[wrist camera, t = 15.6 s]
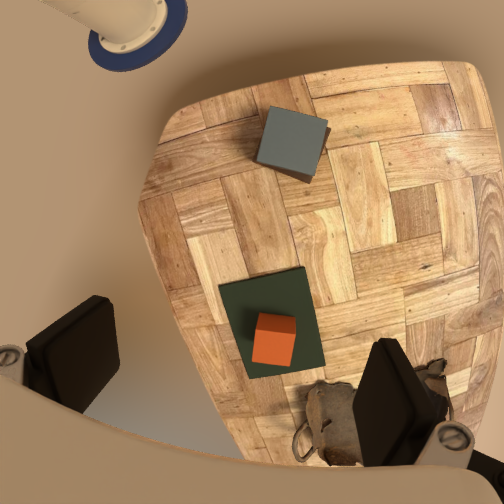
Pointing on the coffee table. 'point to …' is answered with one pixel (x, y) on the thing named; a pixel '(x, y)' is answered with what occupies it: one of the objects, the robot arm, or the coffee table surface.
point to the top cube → (274, 339)
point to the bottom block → (291, 173)
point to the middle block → (292, 141)
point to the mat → (279, 303)
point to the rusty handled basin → (343, 423)
